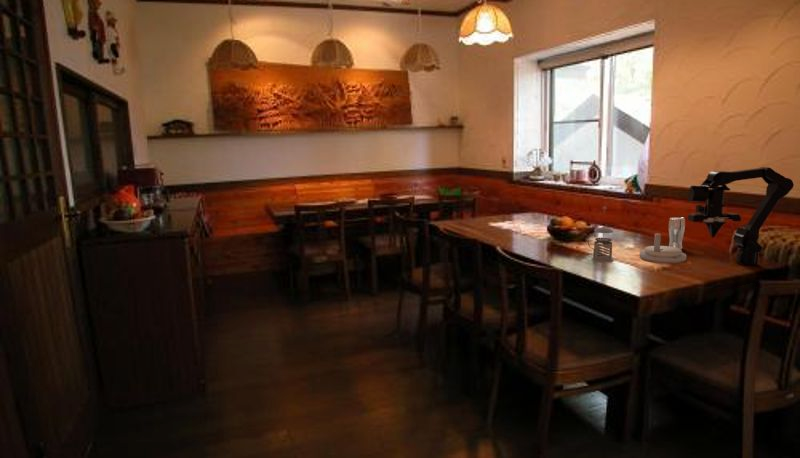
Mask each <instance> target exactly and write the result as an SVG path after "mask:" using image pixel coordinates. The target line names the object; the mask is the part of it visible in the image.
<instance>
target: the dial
mask: <svg viewBox="0 0 800 458" xmlns="http://www.w3.org/2000/svg"><path fill="white" fill-rule="evenodd" d="M661 236H662V234H661V233H654V243H653V245H648V246H645V247H644V250H645V252H644V253H645V254H647V255H650V256H656V257H679V256H681V253H683V251H682V249H679V248H675V247H669V245H668V246H667V245H661V238H662V237H661Z"/></svg>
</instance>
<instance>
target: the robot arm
mask: <svg viewBox="0 0 800 458" xmlns="http://www.w3.org/2000/svg"><path fill="white" fill-rule="evenodd" d="M759 178H761V179H762V180H763V181H764V182H765V184H767V186H766V188H765V189H766V190H765V191H766V192H765V197H764V198H763V199H762V201H761V202H760V204H759V206H758V207H757V209H756V210H755V212H754V213H753V215H752V216H751V217H750V220H749V221H748V222H747V223H746V225H744V226H743V227H742V226H738V228H737V230H736V231H735V233H733V241H734V244H736V246H737V248H738V252H737V257H736V261H735V263H737V264H740V265H742V266H746V267H748V266H750V267H751V266H760V263H758V262H759V254H760V253H761V252H762V250H763V246H762V245H760V243H759V242H758V240H759V237H760V230H761V228H762V227H763V225H764V223H765V222H766V220H767V219H768V217H769V216H770V214H771V213H772V211H773V210H774V208H775V207H776V206H777V204H778V202H779V201H780V200H781V199H783V198H784V197H786V195H788V194H789V193H790V192H791V191H792V190H793V189H794V186H795V185H794V181H793V179H791V178H788V177H786V176H784V175H782V174H781V173H779V172H777V171H775V170H774V169H772V168H771V167H770V166H769V167H766V166H761V167H758V168H757V167H756V168H750V169H748V168H747V169H741V170H735V171H725V170H723V171H722V170H721V171H719V170H713V171H709V173H708V175H707V176H706V179H705V180H704V181H703V182H702V183H701V184H700V185H690V188H689V189H688V190H687V191H688V192H687V193H686V194H687V195H686V197H687V200H688V202H691V203H692V202H695V203H696V202H705V205H704V206H703V205H702V204H697V205H695V213H689V214H688V216H687V220H688V221H691V222H694V223H705V225H706V226H707V229H708V232H709V235H710V238H715V237H716V235H717V234H718V232H719V231H720V229H721V228H722V226H723V225H724V224H727V222H726V221H725V220H731V221H732V222H741V221H742V216H741V215H740V214H739V213H736V212H725V213H724V212H723V211H724V210H723V209H724V208H726V207H725V206H726V205H725V203H724V200H725V199H724V198H725V197H724V196H725V191H727V192H728V191H731V188H730V187H728V186H727V185H728V184H731V183H733V182H735V181H736V182H737V181H744V180H750V179H751V180H753V179H759Z"/></svg>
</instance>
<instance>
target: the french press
mask: <svg viewBox="0 0 800 458" xmlns="http://www.w3.org/2000/svg"><path fill="white" fill-rule="evenodd" d="M607 208H608V207H607V206H602V209H601V210H603V214H605V212H606V210H607ZM594 232H595V233H591V234H590V235H588V237H587V245H588V247H589V248H590V249H591V250H593V253H592V254H593V255H592V258H591V261H593V262H597V263H612V262H614V261H615V260H614V259H613V257H612V255H613V242H612V238H609V237H605V235H604V234H612V233H613V232H614V230H613V229H612V228H610V227H605V226H601V227H597V228H595V229H594ZM596 233H599V234H602V237H596ZM592 236H594V237H596V238H595V239H594V240H595V241H594V242H593V243H594V244H593V245H594V246H593V247H591V245H590V243H589V242H590V238H591V237H592Z"/></svg>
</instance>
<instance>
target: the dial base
mask: <svg viewBox="0 0 800 458" xmlns="http://www.w3.org/2000/svg"><path fill="white" fill-rule="evenodd" d="M644 252H645V249H642V250H640V251H639V256H640V257H639V258H640V259H641V258H642V259H641V260H643V259H644V260H643V261H646V262H651V261H652V262H653V263H659V264H660V263H661V264H678V263H679V264H680V263H684V262H686V261H687V254H686V253H684V252H682V253H681V256H679V257H656V256H650V255H647V254H645V253H644Z"/></svg>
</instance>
